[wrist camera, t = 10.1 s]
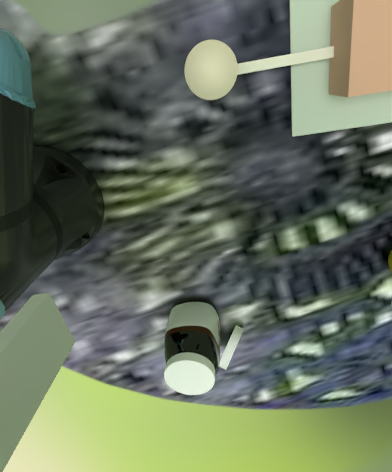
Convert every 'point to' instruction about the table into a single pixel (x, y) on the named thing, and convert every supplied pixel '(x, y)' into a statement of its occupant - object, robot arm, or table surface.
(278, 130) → the table surface
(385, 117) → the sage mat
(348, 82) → the tan block and peg
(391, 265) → the lemon
